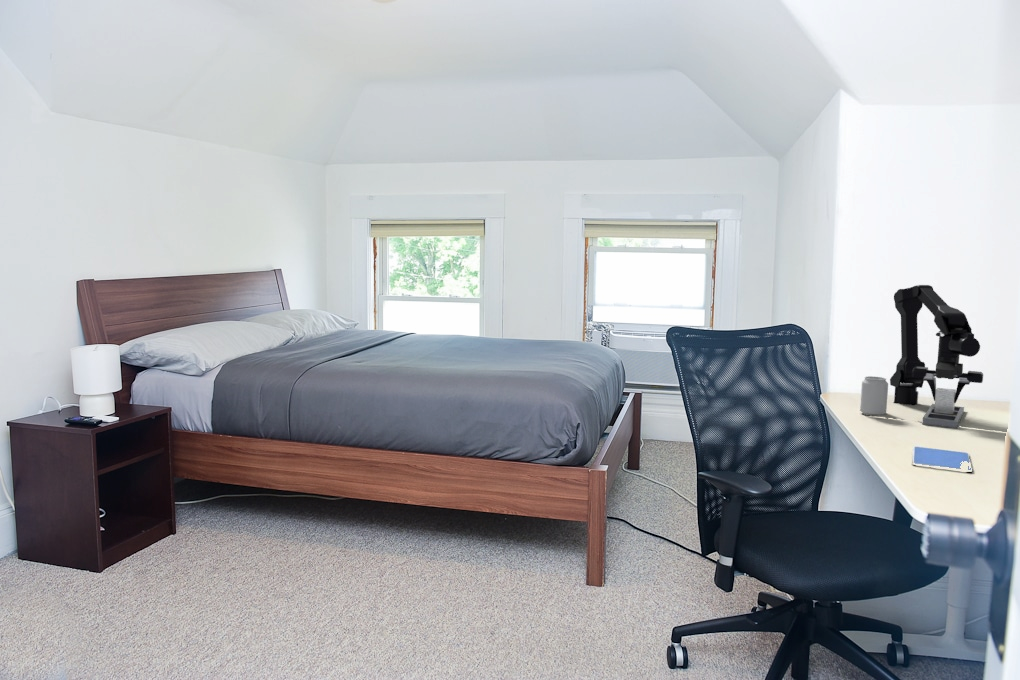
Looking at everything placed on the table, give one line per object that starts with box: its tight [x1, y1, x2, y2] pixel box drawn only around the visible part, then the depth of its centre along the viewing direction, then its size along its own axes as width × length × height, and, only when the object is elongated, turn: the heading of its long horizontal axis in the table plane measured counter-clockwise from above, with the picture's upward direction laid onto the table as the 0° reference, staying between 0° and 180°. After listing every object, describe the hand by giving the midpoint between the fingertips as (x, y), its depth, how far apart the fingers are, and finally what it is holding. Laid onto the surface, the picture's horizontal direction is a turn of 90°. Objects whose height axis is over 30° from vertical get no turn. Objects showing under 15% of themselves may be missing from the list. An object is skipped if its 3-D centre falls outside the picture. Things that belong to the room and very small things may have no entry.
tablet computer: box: [912, 446, 971, 470], centre depth 179 cm, size 19×13×1 cm, turn 150°
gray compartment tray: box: [921, 403, 965, 429], centre depth 227 cm, size 9×27×2 cm, turn 145°
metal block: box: [934, 387, 957, 414], centre depth 226 cm, size 5×5×7 cm
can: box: [859, 375, 889, 417], centre depth 231 cm, size 8×8×12 cm
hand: (944, 401), depth 226 cm, fingers closed on metal block, 5 cm apart
